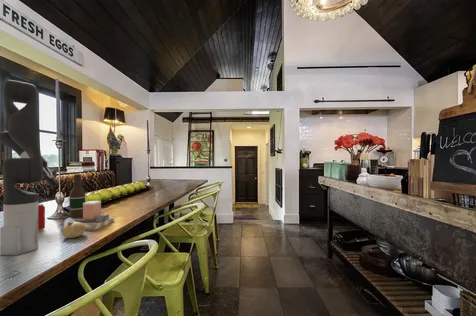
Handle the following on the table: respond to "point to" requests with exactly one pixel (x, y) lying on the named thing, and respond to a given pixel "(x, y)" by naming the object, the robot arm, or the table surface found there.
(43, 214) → the beverage can
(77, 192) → the beer bottle
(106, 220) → the console
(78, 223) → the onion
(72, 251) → the table surface
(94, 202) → the pink box
